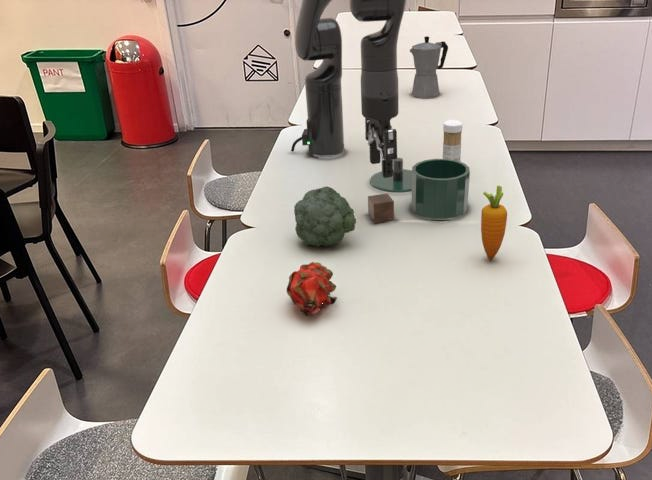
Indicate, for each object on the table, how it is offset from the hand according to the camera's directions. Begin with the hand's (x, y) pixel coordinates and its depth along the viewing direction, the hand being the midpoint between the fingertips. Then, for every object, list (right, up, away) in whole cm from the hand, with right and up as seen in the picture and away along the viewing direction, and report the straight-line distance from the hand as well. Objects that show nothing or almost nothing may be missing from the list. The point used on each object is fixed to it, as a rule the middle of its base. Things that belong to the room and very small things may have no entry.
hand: (381, 169), depth 150 cm
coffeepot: (+15, +48, +85) cm, 99 cm away
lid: (+4, +3, +22) cm, 23 cm away
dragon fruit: (-12, -31, -24) cm, 41 cm away
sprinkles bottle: (+17, +5, +26) cm, 32 cm away
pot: (+13, -6, +10) cm, 18 cm away
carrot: (+22, -21, -10) cm, 32 cm away
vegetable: (-12, -15, -2) cm, 19 cm away
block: (0, -9, +7) cm, 11 cm away
